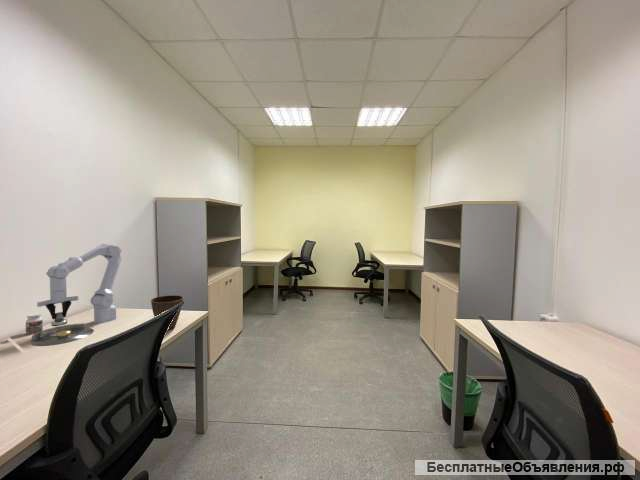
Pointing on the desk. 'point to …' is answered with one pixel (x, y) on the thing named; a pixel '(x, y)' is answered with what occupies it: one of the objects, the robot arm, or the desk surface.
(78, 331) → the dark grey round tray
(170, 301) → the plant pot
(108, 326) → the desk surface
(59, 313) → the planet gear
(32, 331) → the pill bottle
